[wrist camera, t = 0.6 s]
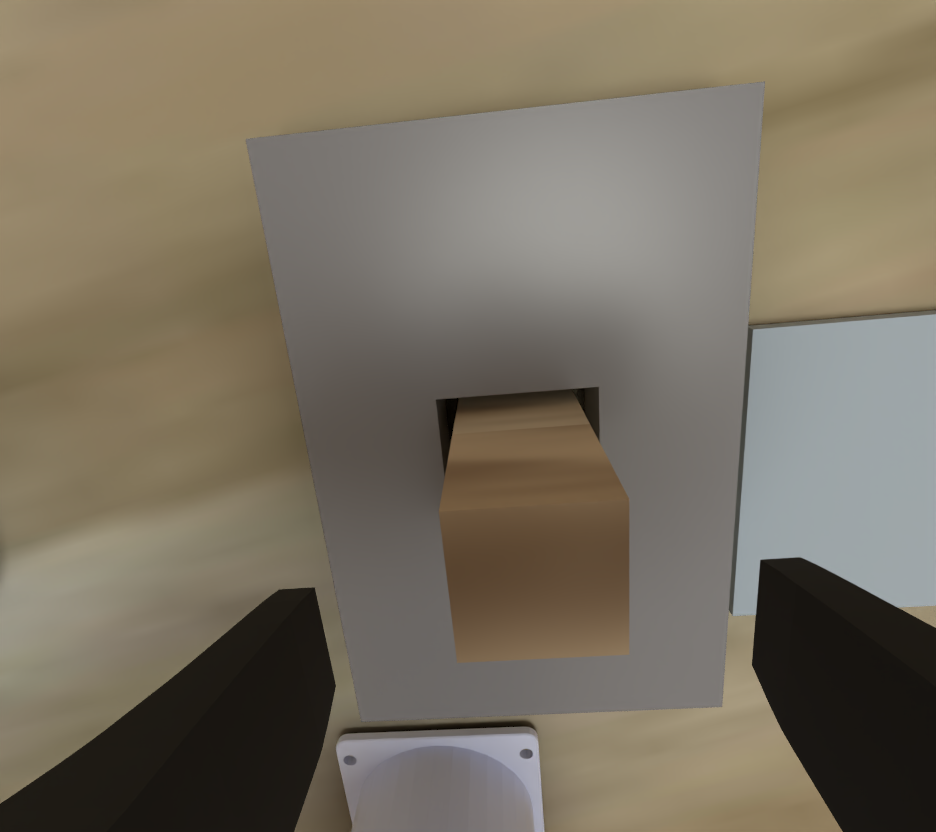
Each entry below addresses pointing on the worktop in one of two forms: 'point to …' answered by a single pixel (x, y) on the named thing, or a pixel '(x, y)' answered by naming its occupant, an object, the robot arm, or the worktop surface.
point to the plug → (533, 532)
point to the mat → (840, 454)
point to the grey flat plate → (522, 365)
